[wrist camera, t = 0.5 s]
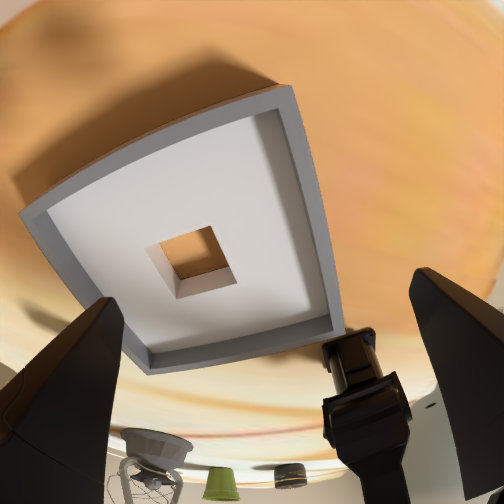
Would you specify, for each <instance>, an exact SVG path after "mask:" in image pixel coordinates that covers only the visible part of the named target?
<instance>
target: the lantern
mask: <svg viewBox="0 0 504 504" xmlns="http://www.w3.org/2000/svg"><path fill="white" fill-rule="evenodd" d="M120 434H121V437H122V438H123V439H124V440H125V441H126V453H127V456H128V457H127V458H125V459H123V460H122V461H121V462H120V466H119V472H117V475H119V476H120V479H121V484H122V489H123V494H124V499H125V504H133V500H132V494H131V490H130V485H129V480H130V481H131V480H132V479H134V480H137V481H140V482H143V483H144V484H145V486H146V487H147V488H148V489H150V490H151V491H152V490H155V491H156V490H158V489H159V488H160V487H161V485H172V486H174V485H176V486H175V487H176V489H174V488H173V487H172V486H171V488H172V489H173V490H174V494H173V497H172V500H171V503H170V504H178V501H179V498H180V495H181V492H182V488H183V480H182V478H181V476H180V475H179V474H178V473H177V472H176V471H175V470H173V469H175V468H179V467H182V465H183V463H184V460H185V457H186V454H187V452H190V451H192V449H193V446H192V444H191V443H190V442H189V441H187V440H185V439H183V438H180V437H177V436H174V435H171V434H167V433H163V432H159V431H154V430H147V429H135V428H128V429H125V430H122V431H121V433H120ZM135 464H136V465H135ZM131 465H134V466H135V467H136V468H137V469H139V470H141V472H140V473H138V474H136V475H132V476H131V475H128V474H127V468H128V466H131ZM166 471H168V472H169V473H170V475H171V476H172V477H173V478H172V477H171V476H169V475H168V474H166ZM118 473H120V474H118ZM117 475H111V476H117ZM111 476H109V480H110V477H111ZM128 476H130V478H132V479H130V478H128ZM167 476H169V477H170V478H172V479H174V480H175V482H174V481H171V480H170V479H169V478H168V477H167ZM109 480H108V482H107V486H108V483H109ZM134 485H135V484H134ZM138 487H139V486H138ZM107 491H108V487H107ZM144 492H145V491H144ZM156 492H157V491H156ZM108 493H109V491H108ZM159 493H160V492H159ZM171 493H173V492H171ZM171 493H169V494H171ZM145 494H147V493H145ZM145 494H143V495H145ZM109 495H110V494H109ZM166 495H168V494H166ZM164 496H165V495H164ZM164 496H163V495H162V496H161V497H164ZM110 497H111V495H110ZM149 497H150V496H149ZM165 497H166V496H165ZM165 497H164V498H165ZM134 498H135V497H134ZM111 499H112V498H111ZM147 499H148V498H147ZM149 499H150V498H149ZM151 499H152V498H151ZM166 500H167V499H166ZM112 501H113V500H112ZM113 502H114V501H113ZM157 503H158V502H157ZM167 503H168V504H169V502H168V500H167ZM114 504H115V503H114Z"/></svg>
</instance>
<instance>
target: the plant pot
mask: <svg viewBox="0 0 504 504" xmlns="http://www.w3.org/2000/svg"><path fill="white" fill-rule="evenodd" d="M202 499H204V500H211V501H240V500H241V499H240V498H239V494H238V492H237V488H236V483H235V479H234V474H233V470H232V469H229V468H218V467H215V468H211V469H210V470H209V475H208V480H207V484H206V489H205V492H204V495H203V497H202Z"/></svg>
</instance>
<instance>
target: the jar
mask: <svg viewBox="0 0 504 504" xmlns="http://www.w3.org/2000/svg"><path fill="white" fill-rule="evenodd" d="M274 479H275V482H274V483H275V488H276V489H291V488H297V487H302V486H305V485H307V478H306V470H305V467H304V465H303V464H299V463H296V464H286V465H281V466H278V467H276V468H275V471H274Z"/></svg>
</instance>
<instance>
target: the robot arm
mask: <svg viewBox="0 0 504 504" xmlns="http://www.w3.org/2000/svg"><path fill="white" fill-rule="evenodd" d="M409 297H410V300H411V304H412V307H413V310H414V313H415V316H416V320H417V323H418V327H419V330H420V333H421V337H422V339H423V342H424V345H425V348H426V350H427V353H428V356H429V358H430V361H431V364H432V367H433V370H434V372H435V375H436V378H437V381H438V384H439V388H440V391H441V394H442V397H443V400H444V404H445V407H446V411H447V414H448V418H449V422H450V425H451V429H452V433H453V437H454V442H455V446H456V448H457V449H456V451H457V456H458V460H459V466H460V472H461V477H462V483H463V490H464V497H465V500H466V501H467V500H470V499H472V498H475V497H477V496H480V495H483V494H485V493H488V492H490V491H493V490H495V489H497V488H499V487H502V486H503V487H502V488H501V489H499V490H498V491H496V492H495V493H494V494H492V495H491V496H490V498H489V501H488V503H487V504H504V314H503V313H502V312H500V311H499V310H497V309H496V308H494V307H493V306H491V305H489V304H488V303H486V302H485V301H483V300H482V299H480V298H479V297H477V296H475V295H474V294H472V293H471V292H469V291H467V290H466V289H464V288H462V287H461V286H459V285H458V284H456V283H454V282H453V281H451V280H449V279H448V278H446V277H444V276H442V275H441V274H439V273H437V272H436V271H434V270H432V269H430V268H429V267H423V268H417V269H416V270H415V272H414V275H413V278H412V281H411V284H410V287H409ZM123 331H124V316H123V314H122V312H121V310H120V308H119V306H118V304H117V302H116V300H115V298H114V297H111V296H109V297H100V298H99V299H98V300H97V301H96V302H94V303H93V304H92V305H91V306H90V307H89V308H88V309H86V310H85V311H84V312H83V313H82V314H81V315H80V316H78V317H77V318H76V319H75V320H74V321H73V322H72V323H71V324H70V325H68V326H67V327H66V328H65V329H64V330H63V331H62V332H61V333H60V334H59V335H57V336H56V337H55V338H54V339H53V340H52V341H51V342H50V343H49V344H48V345H47V346H46V347H45V348H44V349H42V350H41V351H40V352H39V353H38V354H37V355H36V356H35V357H34V358H33V359H32V360H31V361H30V362H29V363H28V364H27V365H26V366H25V368H23V369H22V370H21V371H20V372H19V373H18V374H17V375H16V376H15V377H14V378H13V379H12V380H11V381H10V382H9V383H8V384H7V385H6V386H5V387H4V388H3V389H1V390H0V504H104V481H105V466H106V455H107V446H108V437H109V429H110V421H111V414H112V408H113V401H114V395H115V390H116V384H117V378H118V373H119V367H120V360H121V349H122V340H123ZM375 339H376V333H375V331H374V330H369V331H366V332H363V333H359V334H356V335H353V336H350V337H347V338H344V339H340V340H337V341H334V342H330V343H327V344H324V345H323V346H322V349H323V353H324V358H325V362H326V366H327V370H328V373H332V376H333V380H334V384H335V388H336V392H337V395H336V396H333V397H330V398H325V399H323V405H322V409H323V418H324V427H323V437H324V438H325V439H327V440H328V441H329V443H330V445H331V447H332V448H333V449H335V448H336V452H337V456H338V458H339V459H340V460H341V461H342V462H343V463H344V464H345V465H346V466H347V467H348V468H349V469H350V470H352V471H353V472H354V473H355V474H356V475H357V476H358V477H359V478H360V481H361V486H362V491H363V496H364V502H365V504H411V502H410V498H409V493H408V489H407V484H406V480H405V476H404V472H403V468H402V463H403V460H404V457H405V454H406V451H407V448H408V444H409V440H410V430H409V426H408V423H407V422H409V421H411V420H412V414H411V410H410V407H409V404H408V401H407V398H406V395H405V393H404V391H403V388H402V386H401V383H400V381H399V379H398V376H397V374H396V372H395V371H394V372H391V374H389V375H386V376H383V373H382V370H381V368H380V365H379V362H378V359H377V357H376V354H375Z"/></svg>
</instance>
